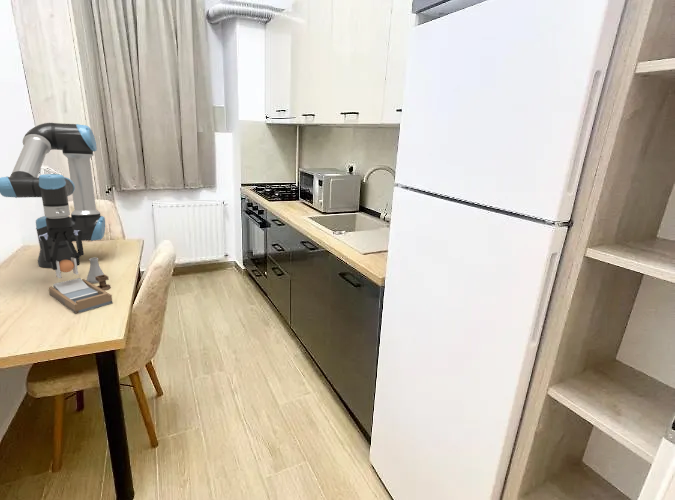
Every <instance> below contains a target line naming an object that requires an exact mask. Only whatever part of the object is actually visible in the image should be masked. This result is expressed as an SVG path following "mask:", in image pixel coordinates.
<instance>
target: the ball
mask: <svg viewBox="0 0 675 500" xmlns="http://www.w3.org/2000/svg"><path fill="white" fill-rule="evenodd" d="M59 265H60V271H61V272H62V273H70V272H71V271H73V268H74V264H73V262H72V261H70V260H62V261H60V262H59Z"/></svg>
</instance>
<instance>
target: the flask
mask: <svg viewBox="0 0 675 500" xmlns="http://www.w3.org/2000/svg"><path fill="white" fill-rule="evenodd" d="M88 261H89V263H90V264H89V265H90V266H89V270H88V273H87V277H86V279H85V280H86V281H88V282H90V283H92V284H97V283H98V284H99V281H97V280H96V278H95V277H96V276H100V275H105V274H104V272H103V270H102V268H101V267H100V264H99V258H98V257H91V258H90V257H89V259H88Z"/></svg>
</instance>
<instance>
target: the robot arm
mask: <svg viewBox="0 0 675 500" xmlns="http://www.w3.org/2000/svg"><path fill="white" fill-rule="evenodd" d="M22 145H23V147H22V148H21V151H20V154H19V156H18V157H17V161H16V162H15V165H14V166H13V170H12V172H11V174H10V176H1V177H0V195H1V196H2V197H4V198H16V199H17V198H41V201H42V205H43V212H44V216H40V217H38V218H37V219H36V220H35V227H36V228H35V230H36V233H37V238H38V244H39V252H38V253H39V254H38V259H37V264H38V265H37V266H39V267H41V268H43V269H44V268H45V269H48V268H51V269H52V270H53V271H55V274H56V278H58V279H61V278H62V273H61V272H62V271H60V265H59V262H60V261H62V260H70V261H72V262H73V264H74V268H73V270H72V272H73V275H79V270H78V266H80V257H82V256H84V254H85V252H84V247H83V242H84V241H85V242H86V241H91V242H93V241H101V240H102V239H103V238H104V235H105V231H106V218H105V216H102V215H101V211H99V210H97V206H96V198H95V197H96V196H95V192H94V191H95V190H94V189H95V188H94V181H93V173H92V165H91V158H92V157H93V156H94V152H96V151H98V148H97V141H96V138H95V134H94V133H93V130H92V128H91V127H90V126H88V125H86V124H85V125H84V124H79V123H62V122H61V123H60V122H44V123H41V124H38V125H36V126H34V127H32V128H31V129H29V130H28V131H27V132H26V133H25V134H24V136H23V139H22ZM51 150H52V151H54V150H58V151H62V155H63V156H65V158H67V164H68V173H69V178H68V177H65V176H64V175H63V174H60V173H58V174H57V173H44V174H40V170H41V168H42V165H43V163H44V161H45V157H46V155H47V154H49V153H50V151H51ZM39 174H40V175H39ZM69 196H72V201H73V208H74V209H73V211H72V212H70V206H69V200H68V199H69V198H68V197H69ZM73 242H75V244H76V248H75V245H74V243H73Z"/></svg>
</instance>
